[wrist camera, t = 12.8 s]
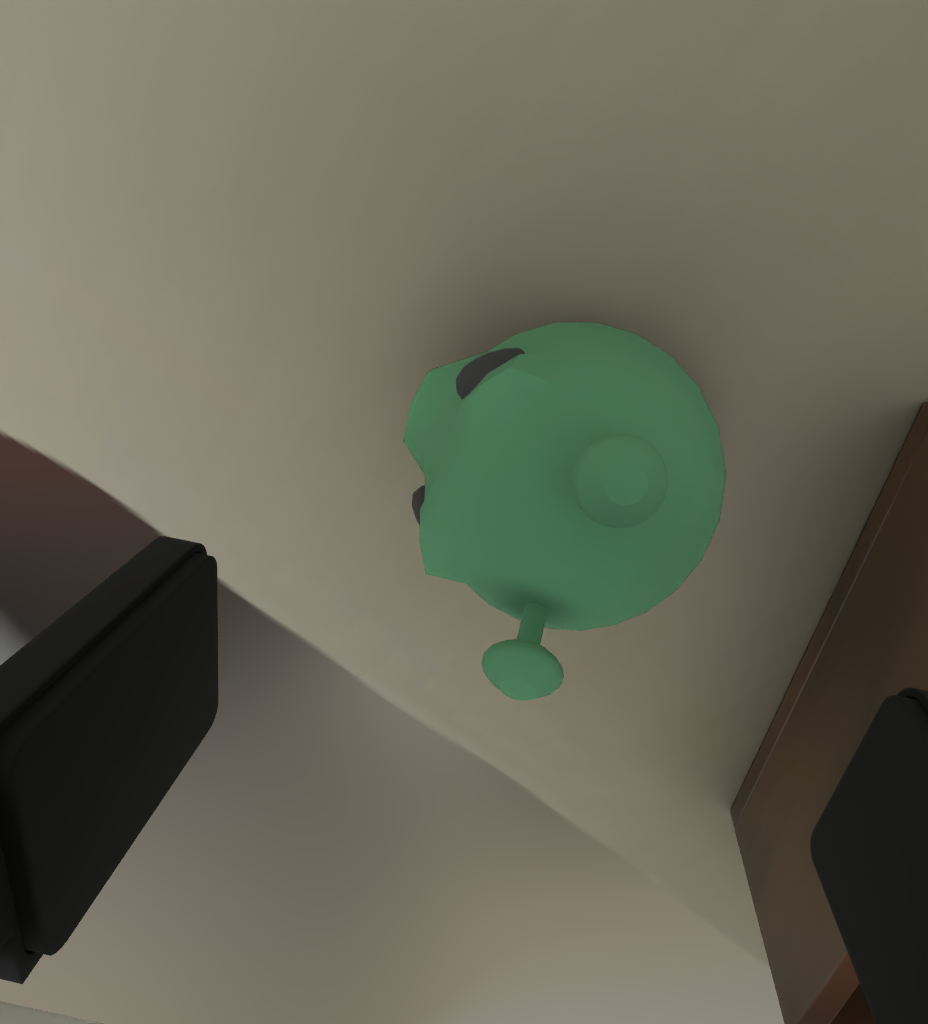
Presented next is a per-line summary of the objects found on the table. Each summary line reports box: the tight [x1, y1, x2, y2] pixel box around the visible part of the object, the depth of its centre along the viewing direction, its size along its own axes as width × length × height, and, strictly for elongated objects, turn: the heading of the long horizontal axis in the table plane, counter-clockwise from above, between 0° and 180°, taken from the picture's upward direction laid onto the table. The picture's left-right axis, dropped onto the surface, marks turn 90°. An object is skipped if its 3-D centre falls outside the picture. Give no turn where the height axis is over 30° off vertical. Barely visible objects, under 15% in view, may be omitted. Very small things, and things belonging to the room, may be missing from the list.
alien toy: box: [403, 322, 726, 700], centre depth 16 cm, size 7×8×10 cm
